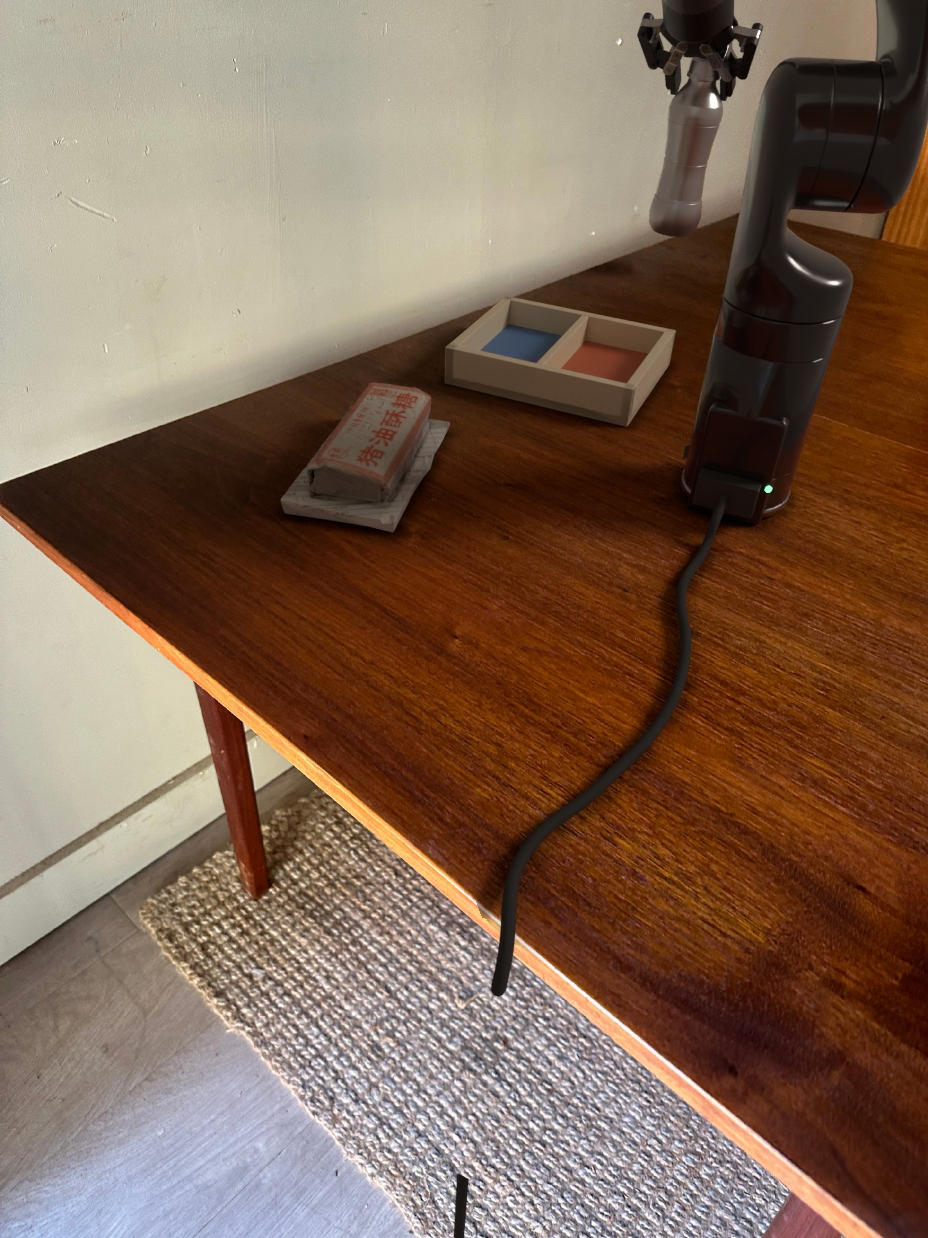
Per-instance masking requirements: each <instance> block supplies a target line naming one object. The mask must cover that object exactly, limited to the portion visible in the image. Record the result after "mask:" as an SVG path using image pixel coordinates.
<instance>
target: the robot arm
mask: <svg viewBox="0 0 928 1238" xmlns="http://www.w3.org/2000/svg"><path fill="white" fill-rule="evenodd" d="M874 3H875V15H876V16H875V18H876V19H875V20H876V24H875V25H876V28H875V29H876V37H875V38H876V39H875V58H874V60H867V59H865V60H864V59H849V58H848V59H847V58H830V57H829V58H828V57H810V56H809V57H807V56H806V57H805V56H800V57H799V56H796V57H795V56H794V57H788V58H786V59H783V60H782V61H781V62H779V63H778V64H777V65H776V66H775V67H774V69H773V70H772V72H771V73H770V75H769V76H768V78H767V80H766V83H765V85H764V87H763V90H762V92H761V95H760V99H759V103H758V106H757V111H756V113H755V119H754V124H753V130H752V135H751V140H750V145H749V146H750V147H749V153H748V158H747V166H746V171H745V172H746V173H745V178H744V185H743V190H742V191H743V192H742V197H741V203H740V209H739V214H738V219H737V223H736V228H735V231H734V238H733V244H732V246H731V247H732V248H731V251H730V258H729V262H728V268H727V273H726V277H725V280H724V286H723V290H722V295H721V300H720V305H719V308H718V314H717V318H716V323H715V327H714V330H713V335H712V340H711V344H710V349H709V354H708V359H707V363H706V368H705V371H704V377H703V382H702V386H701V390H700V394H699V395H700V396H699V400H698V404H697V409H696V412H695V418H694V423H693V426H692V433H691V437H690V441H689V444H687V445H685V447H684V451H683V456H682V461H684V460H685V459H686V460H685V465H684V468H683V470H682V472H681V476H680V477H681V478H680V488H681V491H682V493H683V494H684V496H686V498H687V499H688V502H687V507H689V508H692V509H696V510H699V511H703V512H707V513H710V514H712V515H711V517H710V520H709V523H708V526H707V529H706V532H705V535H704V537H703V540H702V543H701V544H700V547H699V548H698V550H697V552H696V554H695V555H694V556H693V558H692V559H691V561H690V562H689V564H688V565H687V566H686V567H685V569H684V570H683V572H682V573H681V576H680V577H679V580H678V582H677V586H676V591H675V599H674V601H675V602H674V604H675V614H676V619H677V625H678V629H679V644H680V645H679V654H678V660H677V665H676V671H675V674H674V675H675V676H674V680H673V682H672V686H671V687H670V691H669V693H668V695H667V698H666V700H665V702H664V704H663V705H662V708H661V709H660V711H659V712H658V714H657V716H656V717H655V719H654V720H653V722H652V723H651V725H650V726H649V727H648V728H647V729H646V731H645V732H644V733H643V735H642V736H641V737H640V738H639V739H638V740H637V741H636V742H635V743H634V744H633V745H632V746H631V747H629V749H628V750H627V751H626V752H625V753H624V754H623V755H622V756H621V757H620V758H618V760H616V761H615V762H614V763H613V764H612V765H611V766H610V767H609V768H608V769H607V770H606V771H605V772H603V774H601V776H599V777H598V778H597V779H596V780H595V781H594V782H593V783H592V784H591V785H589V787H588V788H586V789H585V790H584V791H583V792H581V793H580V794H578V795H577V796H576V797H575V798H573V799H572V800H570V801H569V802H567V803H566V804H564V805H563V806H562V807H560V808H559V809H558V810H556V811H555V812H554V813H552V814H551V815H549V816H548V817H547V818H546V819H544V820H542V822H541V823H539V825H538V826H536V827H535V828H534V829H533V830H532V832H530V833H529V835H528V836H527V837H526V839H525V840H524V841H523V843H522V844H521V845H520V847H519V849H518V850H517V852H516V854H515V855H514V857H513V859H512V861H511V863H510V865H509V868H508V871H507V874H506V877H505V881H504V885H503V890H502V891H503V892H502V898H501V909H500V911H501V912H500V928H499V932H500V933H499V941H498V949H497V955H496V961H495V962H496V963H495V966H494V971H493V975H492V980H491V984H490V992H491V994H492V995H493V996H494V997H497V998H498V997H501V996H503V995H504V994H505V993H506V991H507V987H508V983H509V978H510V975H511V970H512V964H513V959H514V951H515V944H516V931H517V930H516V929H517V928H516V927H517V907H518V905H517V904H518V893H519V887H520V883H521V879H522V876H523V873H524V870H525V869H526V867H527V864H528V862H529V861H530V859H531V858H532V856H533V854H534V853H535V852H536V850H537V849H538V847H539V846H540V845H541V844H542V843H543V842H544V841H545V840H546V839H547V838H548V837H549V836H550V835H551V834H552V833H553V832H554V831H556V830H557V829H558V828H559V827H561V826H562V825H563V824H564V823H566V822H567V821H569V820H570V819H572V818H573V817H575V816H576V815H577V814H579V812H582V811H583V810H584V809H586V808H587V807H588V806H589V805H591V804H592V803H593V802H594V801H595V800H597V799H598V798H599V797H600V796H601V795H603V793H604V792H606V791H607V790H608V789H609V788H610V787H611V786H612V785H613V784H614V783H615V782H616V781H617V780H618V779H619V778H620V777H621V776H623V774H624V773H625V772H626V771H627V770H629V768H631V767H632V766H633V765H634V764H635V763H636V762H637V761H638V760H639V759H640V758H641V757H642V756H643V755H644V754H645V753H646V752H647V751H648V749H649V748H650V747H651V746H652V745H653V744H654V742H655V741H656V740H657V739H658V737H659V736H660V735H661V733H663V730H664V729H665V727H666V726H667V724H668V722H669V721H670V719H671V718H672V716H673V714H674V711H675V710H676V708H677V706H678V704H679V701H680V699H681V696H682V694H683V692H684V689H685V685H686V683H687V678H688V674H689V668H690V663H691V657H692V655H691V654H692V643H693V642H692V641H693V640H692V639H693V638H692V631H691V624H690V620H689V615H688V614H689V613H688V610H687V609H688V608H687V593H688V588H689V584H690V581H691V579H692V578H693V577H694V575H695V574H696V572H697V571H698V570H699V569H700V567H701V565H703V563H704V561H705V559H706V558H707V556H708V554H709V552H710V551H711V548H712V545H713V543H714V540H715V538H716V535H717V532H718V528H719V526H720V523H721V520H722V518H723V517H726V518H730V519H734V520H736V521H737V520H738V521H741V522H745V523H748V524H753V525H760V523H761V521H762V519H765V518H769V517H772V516H775V515H777V514H779V513H780V512H782V511H783V510H784V509H785V508H786V506H787V504H788V503H789V499H790V496H791V488H792V485H793V482H794V478H795V475H796V472H797V469H798V466H799V461H800V459H801V455H802V452H803V448H804V447H805V443H806V439H807V437H808V433H809V429H810V426H811V424H812V421H813V418H814V417H813V416H814V413H815V410H816V408H817V407H816V406H817V403H818V401H819V397H820V395H821V390H822V387H823V384H824V381H825V378H826V374H827V371H828V369H829V365H830V362H831V358H832V355H833V352H834V350H835V346H836V343H837V340H838V337H839V334H840V331H841V327H842V324H843V321H844V317H845V314H846V311H847V307H848V304H849V302H850V297H851V295H852V290H853V286H854V275H853V273H852V270H851V269H850V268H849V266H848V265H847V264H846V263H845V262H844V261H842V260H841V259H840V258H838V257H837V256H835V255H833V254H831V253H830V252H827V251H825V250H823V249H821V248H819V247H817V246H815V245H813V244H811V243H809V242H807V241H806V240H803V239H802V238H801V237H799V236H798V235H797V234H795V233H794V232H793V231H792V229H790V228H789V226H788V218H789V214H790V212H791V211H792V210H801V211H815V212H831V213H843V214H861V215H863V214H864V215H865V214H866V215H867V214H868V215H875V214H884V213H887V212H888V211H891V210H892V209H893V208H895V207H896V206H897V205H898V204H899V203H900V201H902V199H903V198H904V196H905V194H906V192H907V190H908V188H909V187H910V185H911V182H913V181H912V180H913V178H914V175H915V173H916V170H917V167H918V164H919V162H920V157H921V154H922V150H923V146H924V142H925V139H926V133H927V129H928V0H874ZM661 9H662V10H661V11H662V18H655V16H654V14H653V13H651V12H645V13H644V14H643V15H642V19H641V21H640V24H639V28H638V31H637V33H636V35H637V39H638V42H639V45H640V49H641V50H642V53H643V56H644V59H645V63H646V65H647V67H648V69H649V70H652V71H655V70H657V69H661V70H662V73H663V74H664V84H665V88H666V90H667V91H669V92H670V93H669V94H670V95H671V96H675V95H676V94H677V93H678V91H679V90H680V86H681V84H682V64H681V63H682V62H681V61H682V59H683V58H689V59H691V58H693V57H698V58H701V59H707V60H708V62H709V63H710V65H711V67H712V69H713V70H714V71H715V70H717V71H718V73H719V75H720V80H719V94H720V97H721V100H722V102H727V100H728V98H731V97H732V96H733V94H734V91H735V87H736V86H737V79H739V80H741V81H744V80H747V79H748V78H749V77H748V76H749V74H750V71H751V66H752V63H753V62H754V58H755V55H756V52H757V49H758V46H759V41H760V39H761V37H762V33H763V29H764V25H763V23H760V22H754V23H752V25H751V27H750V28H749V27H746V26H741V25H739V21H738V20H737V18H736V17H735V0H661ZM660 34H661V35H660ZM661 36H663V38H664V39H665V40H666V41H667V42H668V43H669V44H670V45H671V47H670V48H669V51H668V50H665V47H664V43H663V40H662V38H661ZM734 40H736V41H737V42H738V47H739V48H740V50H739V52H740V53H742V57H738V56H737V54H736V52H735V50H734V48H733V42H734ZM469 1183H470V1180H469V1178H468V1177H467V1176H464V1175H463V1174H460V1173H459V1172H457V1173H456V1183H455V1185H456V1187H455V1200H454V1201H455V1204H454V1205H455V1206H454V1223H453V1238H465V1235H466V1234H465V1233H466V1220H467V1207H468V1206H467V1205H468V1195H469V1194H468V1193H469Z"/></svg>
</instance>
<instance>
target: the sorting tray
mask: <svg viewBox="0 0 928 1238" xmlns="http://www.w3.org/2000/svg"><path fill="white" fill-rule="evenodd" d="M676 332H677V330H675V329H672V328H666V327H661V326H656V325H652V324H646V323H642V322H637V321H632V320H627V319H622V318H617V317H612V316H607V315H603V314H597V313H592V312H588V311H582V310H577V309H572V308H568V307H563V306H558V305H555V304H554V305H553V304H549V303H545V302H544V303H543V302H540V301H539V302H538V301H533V300H529V299H528V300H527V299H523V298H520V297H514V296H509V295H504V297H503V298H502V299H500V300H499V301H498V302H497V303H496V304H494V305H493V306H492V307H491V308H490V309H489V310H488V311H486V312H485V313H484V314H483V315H482V316H480V317H479V318H478V319H477V320H476V321H475V322H473V323H472V324H471V325H470V326H468V328H466V329H465V330H464V331H463V332H461V333H460V334H459V335H458V336H457V337H456V338H454V339H453V340H452V341H451V342H450V343H448V344H447V345H445V347H444V348H445V349H444V350H445V351H444V353H445V355H444V384H447V385H450V386H454V387H459V388H463V389H467V390H471V391H476V392H480V393H484V394H489V395H492V396H496V397H501V398H506V399H509V400H514V401H517V402H522V403H526V404H530V405H535V406H538V407H543V408H546V409H550V410H555V411H559V412H564V413H568V414H571V415H576V416H580V417H584V418H589V419H593V420H596V421H601V422H605V423H610V424H613V425H617V426H622V427H628V426H629V425H630V423H631V422H632V421H633V419H634V417H635V416H636V414H637V413H638V411H639V410H640V408H641V407H642V405H644V403H645V401H646V400H647V398H648V397H649V395H650V394H651V392H652V391H653V390H654V388H655V386H656V385H657V383H658V382H659V381H660V379H661V378H662V377H663V375H664V374H665V372H666V370H667V369H668V368H669V366H670V363H671V358H672V353H673V348H674V343H675V338H676Z"/></svg>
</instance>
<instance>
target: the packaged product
mask: <svg viewBox="0 0 928 1238" xmlns="http://www.w3.org/2000/svg"><path fill="white" fill-rule="evenodd" d="M431 408H432V396H431V394H429V393H427V392H425V391H424V390H423V391H422V390H421V389H420V388H417V387H415V386H413V387H410V386H406V385H405V386H404V385H397V384H393V383H392V384H391V383H381V382H372V381H371V382H368V384H367V386H366V388H365V389H364V390H362V392H361V394H360V395H358V397H357V399H356V401H355V402H354V403H352V405H350V406H349V408H348V410H347V411H346V412H345V414H344V415H343V417H342V418H341V419H340V421H339V422H338V424H337V425H336V426H335V428H334V429H333V430H332V431H331V432H330V434H329V435H328V437H327V438H326V440H325V441H324V442H323V443H321V446H320V448H318V449H317V450H316V452H315V453H314V455H313V456H312V458H311V459H310V460H309V461H308V463H307V465H306V466H305V467H304V468H303V469H302V470H301V472H300V473H299V474H298V476H297V477H296V478H295V480H294V481H293V482H292V484H291V485H290V486H289V487H288V490H287V491H286V492H285V493H284V494H283V495H282V496H281V498H280V503H281V507H282V510H283V513H284V514H287V515H293V516H298V517H299V516H300V517H306V518H314V519H321V520H325V521H326V520H327V521H331V522H332V521H333V522H340V523H346V524H350V525H352V524H353V525H357V526H364V527H368V528H373V529H377V530H381V531H384V532H385V531H386V532H389V533H394V532H395V530H396V528H397V526H398V524H399V522H400V520H401V518H402V516H403V514H404V512H405V511H406V509H407V507H408V505H409V503H410V500H411V498H412V497H413V495H414V493H415V491H416V490H417V488H418V487H419V485H420V484H421V482H422V480H423V479H424V477H425V476H426V475H427V474H428V473H429V471H430V470H431V468H432V464H433V462H434V457H435V454H436V453H437V451H438V450H439V448H440V446H441V445H442V443H443V441H444V438H445V436H446V434H447V432H448V430H449V428H450V426H451V422H450V421H446V420H439V419H435V418H429V417H430V415H431V414H430V413H431Z"/></svg>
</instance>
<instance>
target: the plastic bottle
mask: <svg viewBox="0 0 928 1238" xmlns="http://www.w3.org/2000/svg"><path fill="white" fill-rule="evenodd" d="M686 77H687V78H688V79H687V81H686V83H684V85H682V87H681V88H679V90H678V93H677V94H676V95H673V96H674V97H673V98H671V101H670V103H669V105H668V111H667V116H668V117H667V123H666V124H667V125H666V141H665V149H664V158H663V163H662V167H661V171H660V176H659V180H658V183H657V187H656V191H655V192H656V193H654V196H653V198H652V200H651V204H650V207H649V211H648V212H649V213H648V216H649V217H648V223H649V225H650V229H651V230H652V231H653V232H655V233H657V234H659V235H662V236H667V237H671V238H673V237H674V238H686V237H690V236H692V235H693V234H694V233H695V232H696V231H697V229H698V227H699V224H700V222H701V219H702V211H703V192H704V187H705V186H704V185H705V179H706V171H707V168H708V162H709V160H710V156H711V152H712V148H713V145H714V142H715V140H716V136H717V134H718V131H719V128H720V125H721V122H722V119H723V115H724V105H723V101H722V100H721V97H720V91H719V90H718V87H717V82H718V81H720V79H721V77H720V75H719V73H718V71H717V70H715V71H714V70H713V69H712V67H711V65H710V63H709V62H708V60H707V59H701V58H698V57H693V58H690V62H689V66H688V70H687V72H686Z"/></svg>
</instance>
